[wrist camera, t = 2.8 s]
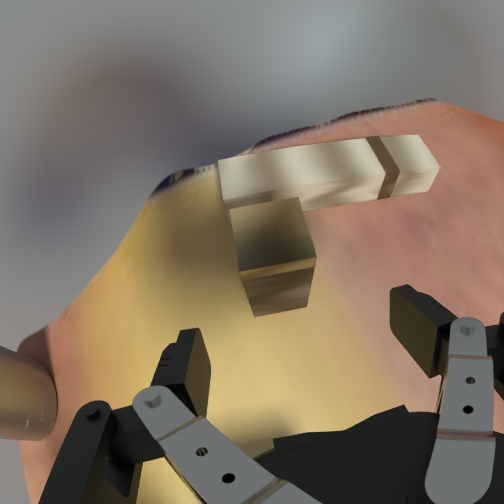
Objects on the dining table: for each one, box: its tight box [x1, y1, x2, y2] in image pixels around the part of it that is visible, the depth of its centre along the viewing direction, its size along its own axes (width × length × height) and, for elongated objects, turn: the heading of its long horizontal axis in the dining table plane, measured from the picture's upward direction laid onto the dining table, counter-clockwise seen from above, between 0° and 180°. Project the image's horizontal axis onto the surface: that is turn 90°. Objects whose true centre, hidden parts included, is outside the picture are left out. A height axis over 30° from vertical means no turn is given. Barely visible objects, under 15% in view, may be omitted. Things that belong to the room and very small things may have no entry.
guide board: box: [218, 135, 440, 225], centre depth 29 cm, size 22×5×4 cm, turn 99°
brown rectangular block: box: [230, 197, 317, 317], centre depth 22 cm, size 4×4×9 cm
